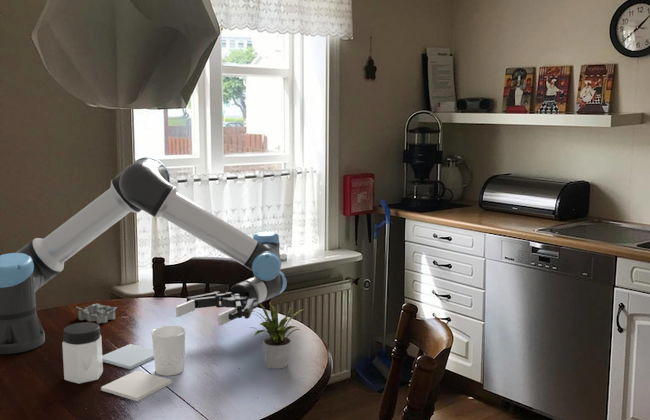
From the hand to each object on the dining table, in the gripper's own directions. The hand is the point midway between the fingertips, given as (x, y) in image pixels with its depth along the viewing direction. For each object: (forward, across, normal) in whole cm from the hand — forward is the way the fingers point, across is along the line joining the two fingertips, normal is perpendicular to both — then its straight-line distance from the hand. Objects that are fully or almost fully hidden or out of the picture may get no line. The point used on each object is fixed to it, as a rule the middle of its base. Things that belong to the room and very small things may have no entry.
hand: (197, 315), depth 176 cm
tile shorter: (+21, 0, -11) cm, 24 cm away
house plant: (-6, -18, -11) cm, 22 cm away
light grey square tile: (+9, +14, -11) cm, 20 cm away
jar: (+23, +16, -11) cm, 30 cm away
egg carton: (-8, +45, -11) cm, 47 cm away
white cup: (+10, 0, -11) cm, 15 cm away
